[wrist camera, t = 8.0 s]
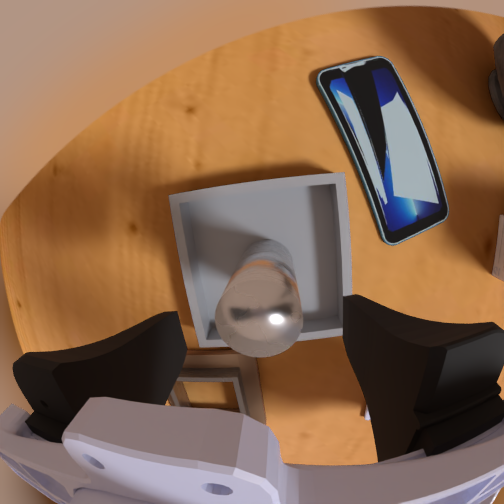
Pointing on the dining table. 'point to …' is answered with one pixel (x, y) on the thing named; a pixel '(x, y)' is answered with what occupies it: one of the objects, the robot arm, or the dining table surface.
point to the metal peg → (261, 302)
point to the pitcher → (498, 77)
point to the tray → (274, 228)
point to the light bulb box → (499, 252)
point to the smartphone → (386, 146)
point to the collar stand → (223, 379)
